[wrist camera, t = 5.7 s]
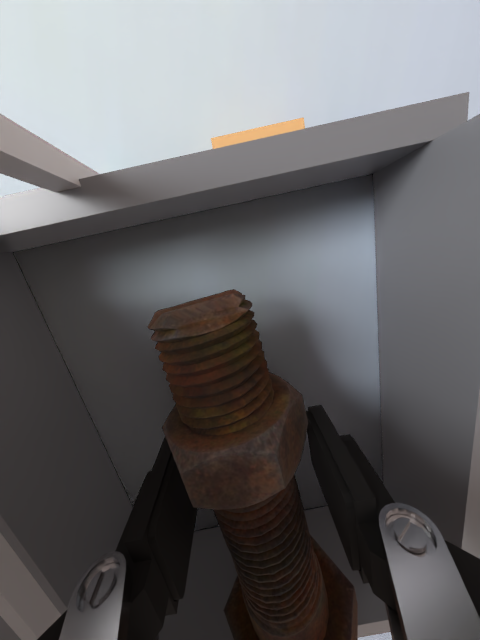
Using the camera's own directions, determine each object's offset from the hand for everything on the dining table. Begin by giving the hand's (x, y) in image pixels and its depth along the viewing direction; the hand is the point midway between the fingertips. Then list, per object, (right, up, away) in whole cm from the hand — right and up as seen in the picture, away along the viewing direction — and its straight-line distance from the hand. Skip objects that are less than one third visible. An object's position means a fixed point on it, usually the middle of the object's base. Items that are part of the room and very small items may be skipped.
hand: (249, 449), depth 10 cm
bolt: (0, 0, +1) cm, 1 cm away
